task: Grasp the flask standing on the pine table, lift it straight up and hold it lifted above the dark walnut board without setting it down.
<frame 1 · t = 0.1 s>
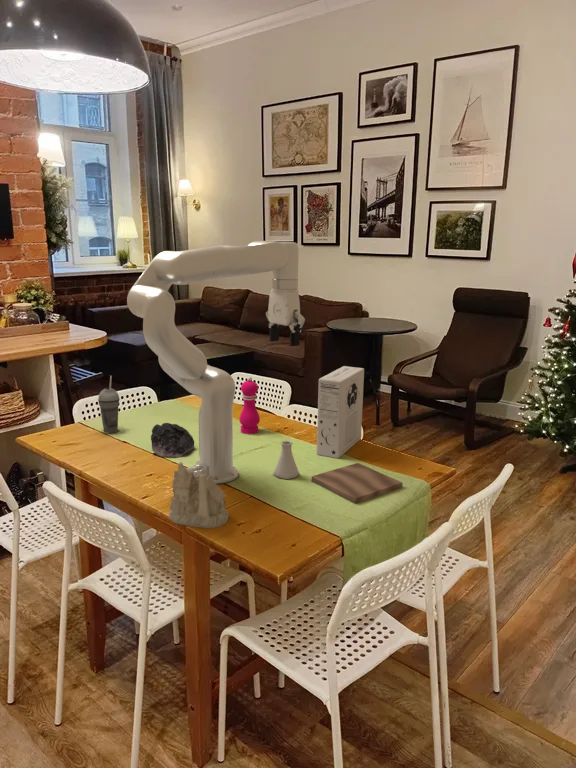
hand: (284, 343, 178), 37 cm above the table, tool pointing down, fingers open, 9 cm apart
crystal cluster: (172, 451, 192), on the table
pepper mill: (249, 431, 212), on the table
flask: (286, 475, 174), on the table
beverage cup: (110, 431, 210), on the table
miniature castle: (201, 513, 150), on the table
cereal box: (339, 447, 198), on the table
walnut board: (356, 484, 168), on the table
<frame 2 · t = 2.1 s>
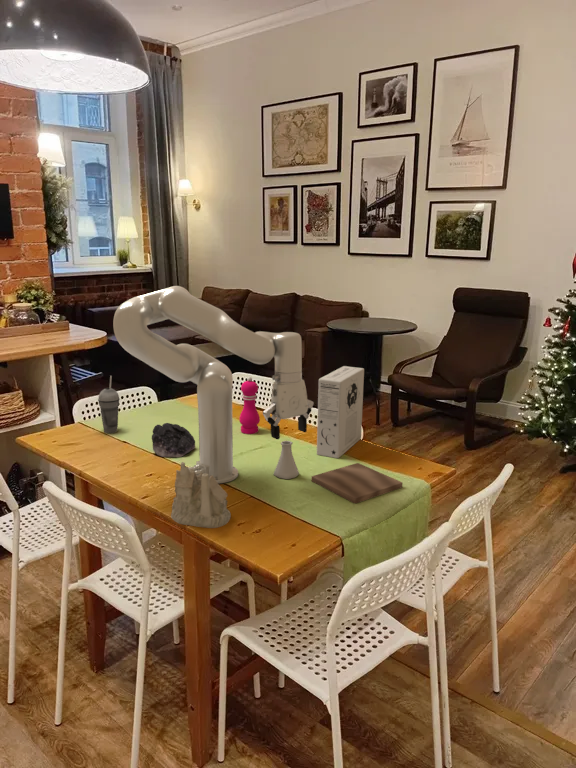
hand: (289, 434, 171), 12 cm above the table, tool pointing down, fingers open, 9 cm apart
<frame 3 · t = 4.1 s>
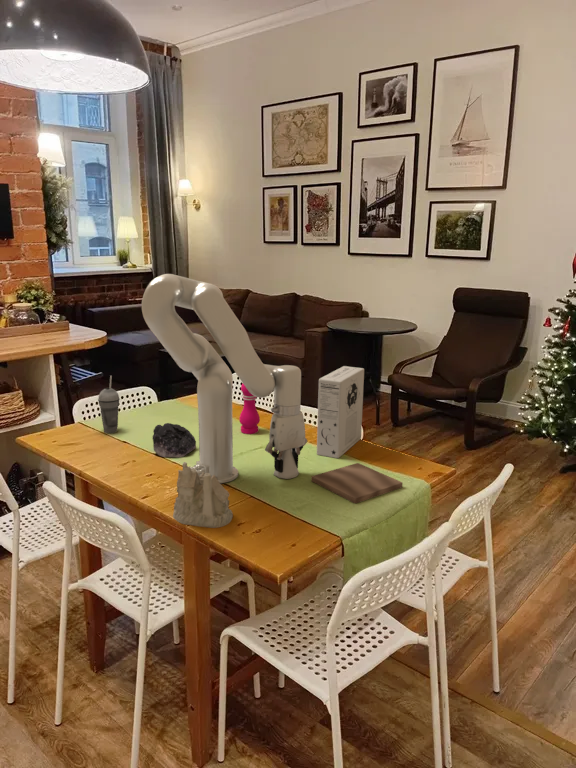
hand: (286, 468, 174), 2 cm above the table, tool pointing down, fingers closed on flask, 4 cm apart
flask: (286, 475, 174), on the table, touching gripper
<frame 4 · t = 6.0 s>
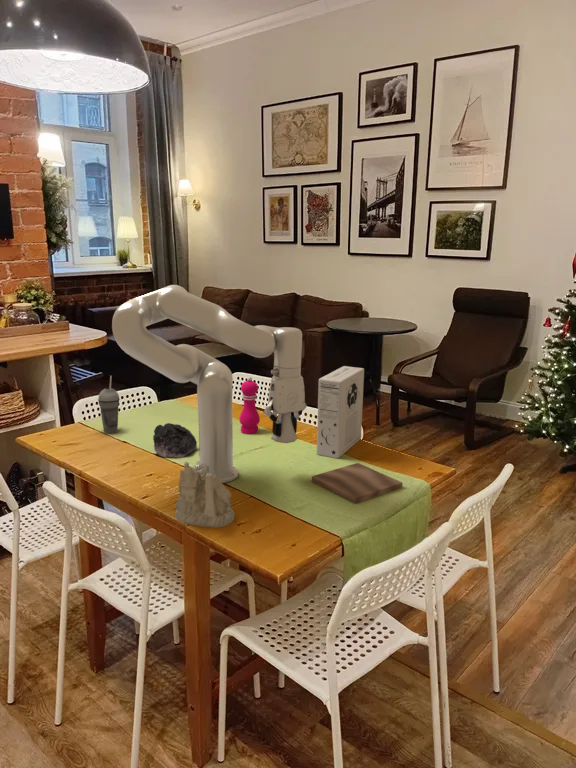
hand: (284, 433, 171), 13 cm above the table, tool pointing down, fingers closed on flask, 4 cm apart
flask: (284, 440, 172), point 11 cm above the table, touching gripper
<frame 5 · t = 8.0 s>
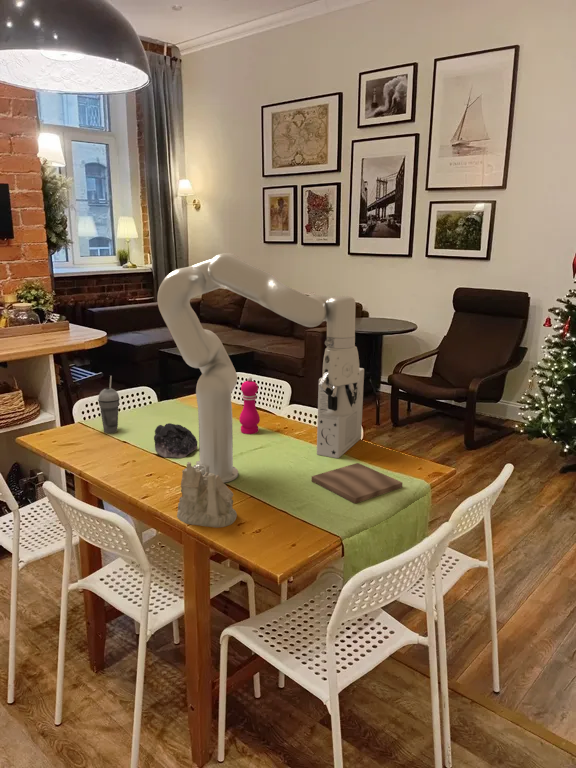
hand: (339, 407, 165), 22 cm above the table, tool pointing down, fingers closed on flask, 4 cm apart
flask: (339, 414, 165), point 20 cm above the table, touching gripper
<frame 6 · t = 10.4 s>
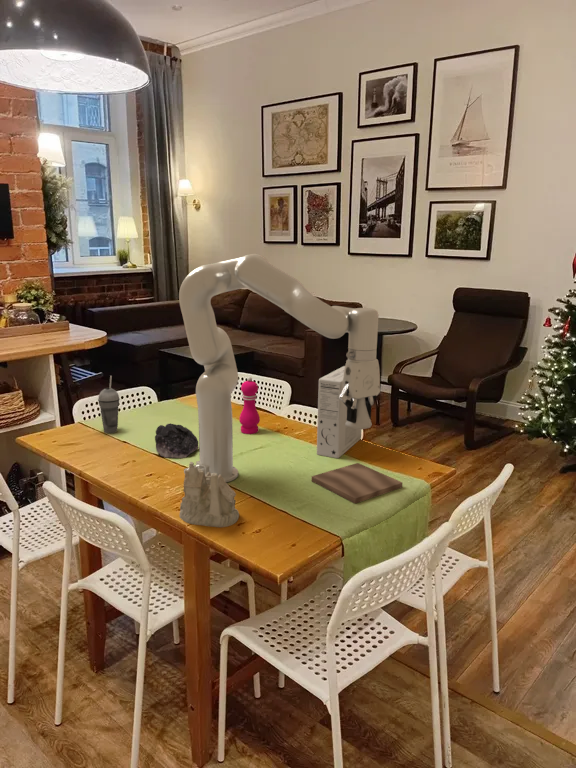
hand: (358, 419, 164), 19 cm above the table, tool pointing down, fingers closed on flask, 4 cm apart
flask: (358, 426, 164), point 17 cm above the table, touching gripper
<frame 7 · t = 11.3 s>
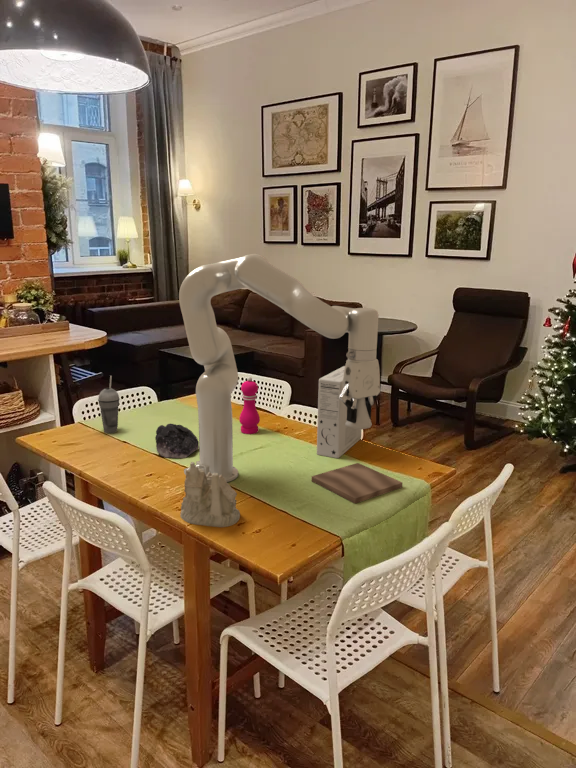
hand: (358, 419, 164), 19 cm above the table, tool pointing down, fingers closed on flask, 4 cm apart
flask: (358, 426, 164), point 17 cm above the table, touching gripper
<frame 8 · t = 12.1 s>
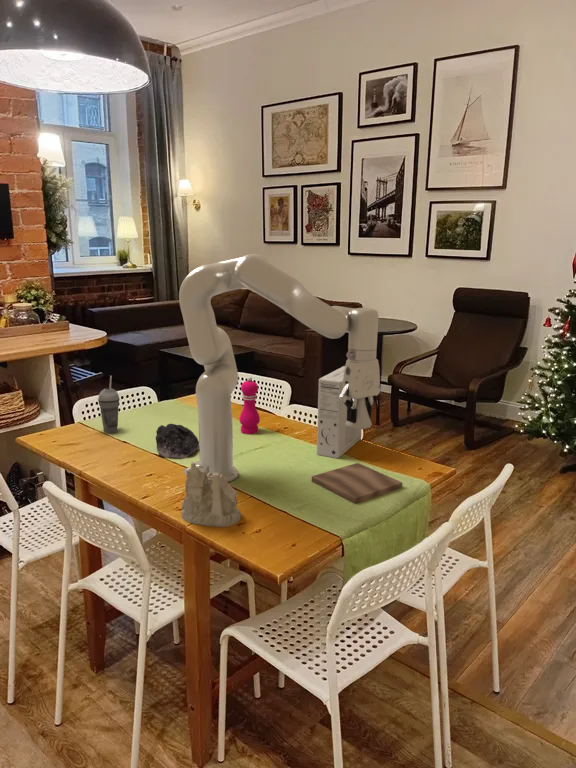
hand: (358, 419, 164), 19 cm above the table, tool pointing down, fingers closed on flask, 4 cm apart
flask: (358, 426, 164), point 17 cm above the table, touching gripper
at the end: the gripper is holding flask; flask point 17.1 cm above the table; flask 0.2 cm from the walnut board (horizontally) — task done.
